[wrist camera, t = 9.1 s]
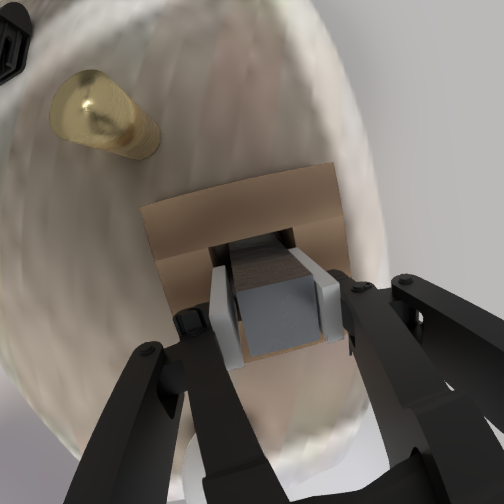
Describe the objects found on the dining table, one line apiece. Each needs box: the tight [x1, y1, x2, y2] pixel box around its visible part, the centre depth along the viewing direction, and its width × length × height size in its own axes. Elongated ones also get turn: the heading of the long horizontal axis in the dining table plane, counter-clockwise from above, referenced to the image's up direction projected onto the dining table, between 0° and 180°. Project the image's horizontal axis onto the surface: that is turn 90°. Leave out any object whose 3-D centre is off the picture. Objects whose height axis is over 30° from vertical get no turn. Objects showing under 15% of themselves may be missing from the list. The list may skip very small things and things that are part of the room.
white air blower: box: [182, 433, 266, 504], centre depth 16 cm, size 8×8×18 cm
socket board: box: [139, 162, 351, 364], centre depth 19 cm, size 12×12×4 cm
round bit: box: [50, 70, 161, 160], centre depth 13 cm, size 3×3×10 cm
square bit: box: [229, 233, 320, 357], centre depth 16 cm, size 3×3×10 cm
